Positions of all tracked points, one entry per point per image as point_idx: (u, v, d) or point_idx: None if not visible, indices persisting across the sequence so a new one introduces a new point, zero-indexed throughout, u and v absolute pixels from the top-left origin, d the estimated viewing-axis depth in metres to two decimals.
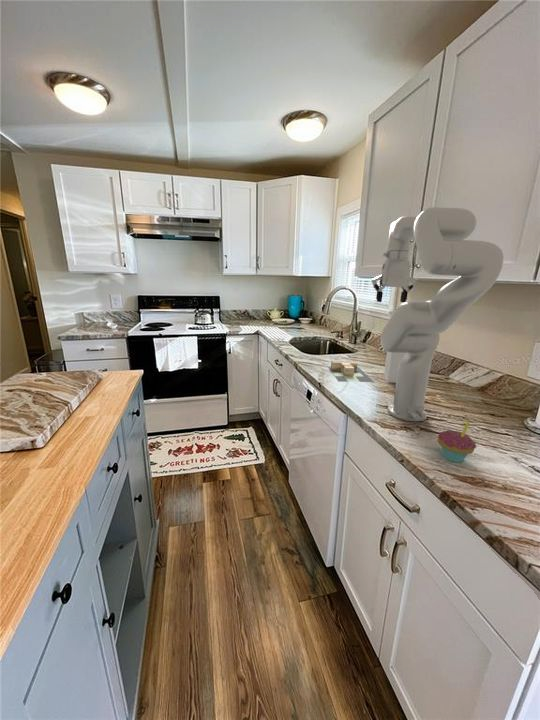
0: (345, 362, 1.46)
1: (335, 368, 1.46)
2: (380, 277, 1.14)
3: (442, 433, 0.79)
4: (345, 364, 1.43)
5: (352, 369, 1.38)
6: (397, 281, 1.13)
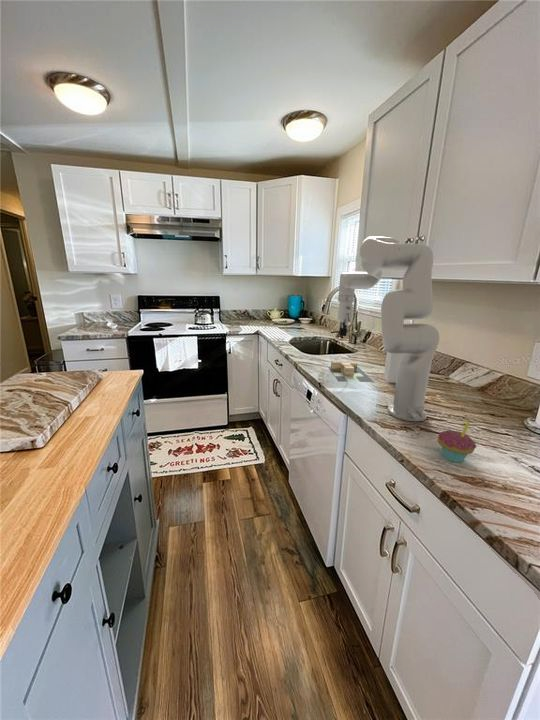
0: (345, 362, 1.46)
1: (335, 368, 1.46)
2: None
3: (442, 433, 0.79)
4: (345, 364, 1.43)
5: (352, 369, 1.38)
6: None
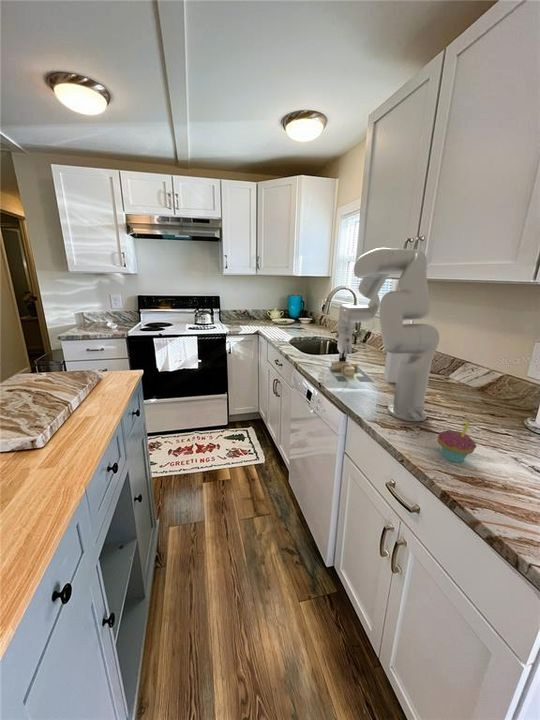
0: (345, 362, 1.46)
1: (336, 368, 1.45)
2: None
3: (442, 433, 0.79)
4: (346, 364, 1.43)
5: (352, 370, 1.37)
6: None
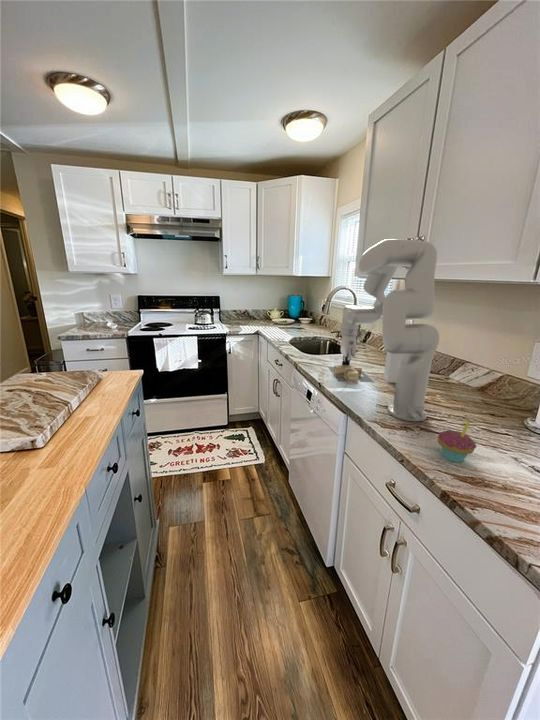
0: (349, 366, 1.39)
1: (339, 372, 1.39)
2: None
3: (442, 433, 0.79)
4: (349, 368, 1.36)
5: (356, 374, 1.31)
6: None
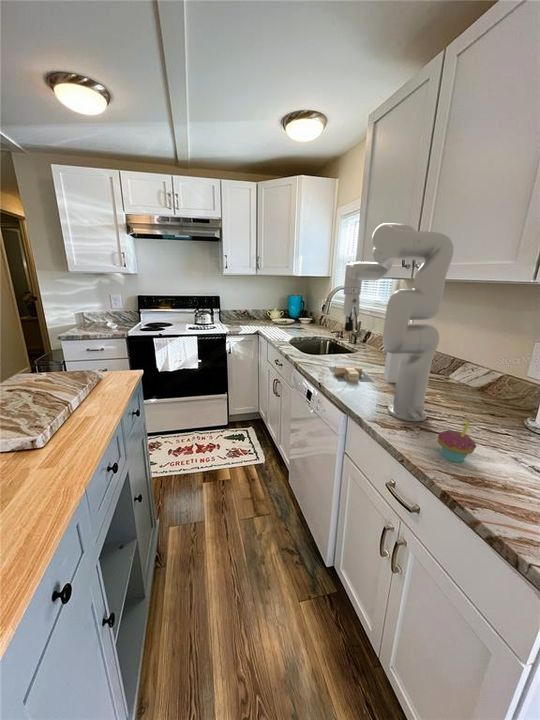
0: (349, 367, 1.38)
1: (339, 373, 1.38)
2: None
3: (442, 433, 0.79)
4: (349, 369, 1.36)
5: (357, 375, 1.30)
6: None
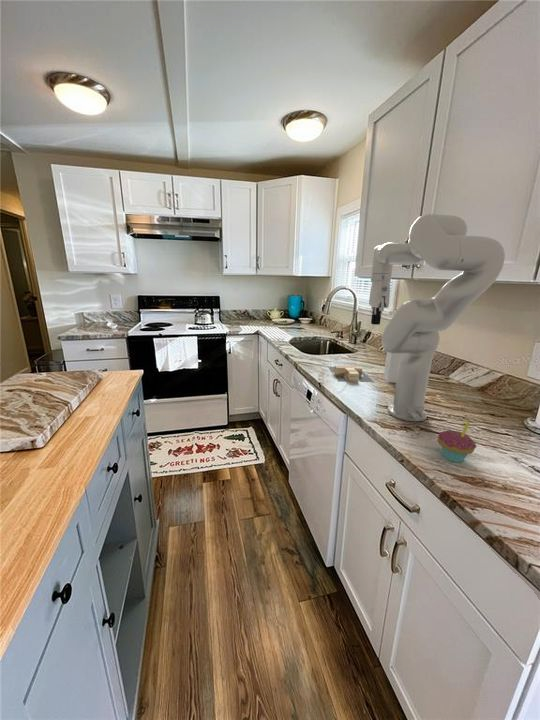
0: (349, 367, 1.38)
1: (339, 373, 1.38)
2: None
3: (442, 433, 0.79)
4: (349, 369, 1.36)
5: (357, 375, 1.30)
6: None
